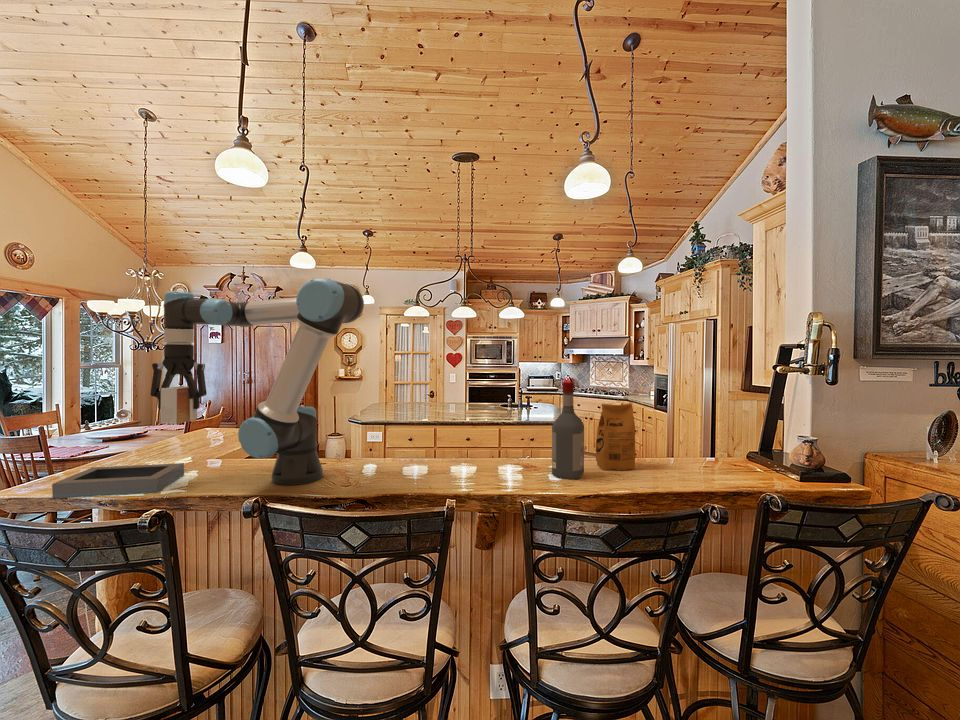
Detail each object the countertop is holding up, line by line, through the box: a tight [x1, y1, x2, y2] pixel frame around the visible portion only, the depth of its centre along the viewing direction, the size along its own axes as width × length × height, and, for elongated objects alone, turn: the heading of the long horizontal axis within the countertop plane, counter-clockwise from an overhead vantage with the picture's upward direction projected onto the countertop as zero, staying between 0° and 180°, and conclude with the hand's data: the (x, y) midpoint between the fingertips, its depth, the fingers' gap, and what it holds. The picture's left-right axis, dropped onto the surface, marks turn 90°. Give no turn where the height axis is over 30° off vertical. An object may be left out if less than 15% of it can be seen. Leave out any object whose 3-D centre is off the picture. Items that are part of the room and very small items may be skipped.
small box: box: [160, 385, 198, 425], centre depth 141 cm, size 8×6×10 cm
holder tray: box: [51, 462, 185, 499], centre depth 141 cm, size 26×18×4 cm
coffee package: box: [595, 403, 636, 472], centre depth 160 cm, size 10×12×22 cm
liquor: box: [551, 381, 585, 481], centre depth 150 cm, size 9×9×30 cm
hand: (179, 419), depth 141 cm, fingers closed on small box, 7 cm apart
